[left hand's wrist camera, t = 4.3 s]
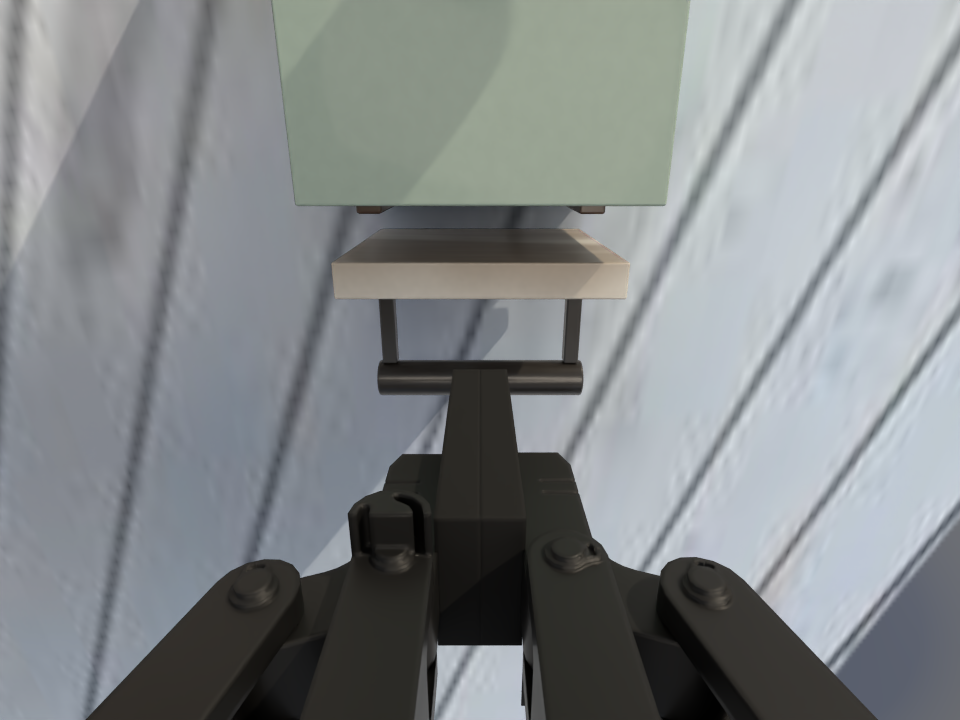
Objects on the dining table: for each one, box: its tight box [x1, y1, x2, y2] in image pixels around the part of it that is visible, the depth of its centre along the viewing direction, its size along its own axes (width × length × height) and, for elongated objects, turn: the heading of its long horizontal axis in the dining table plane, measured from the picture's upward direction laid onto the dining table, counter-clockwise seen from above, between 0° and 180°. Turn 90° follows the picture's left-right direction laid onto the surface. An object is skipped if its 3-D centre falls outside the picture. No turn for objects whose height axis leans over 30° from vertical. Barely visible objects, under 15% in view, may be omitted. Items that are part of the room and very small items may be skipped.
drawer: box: [331, 206, 630, 395], centre depth 19 cm, size 24×10×9 cm, turn 0°
